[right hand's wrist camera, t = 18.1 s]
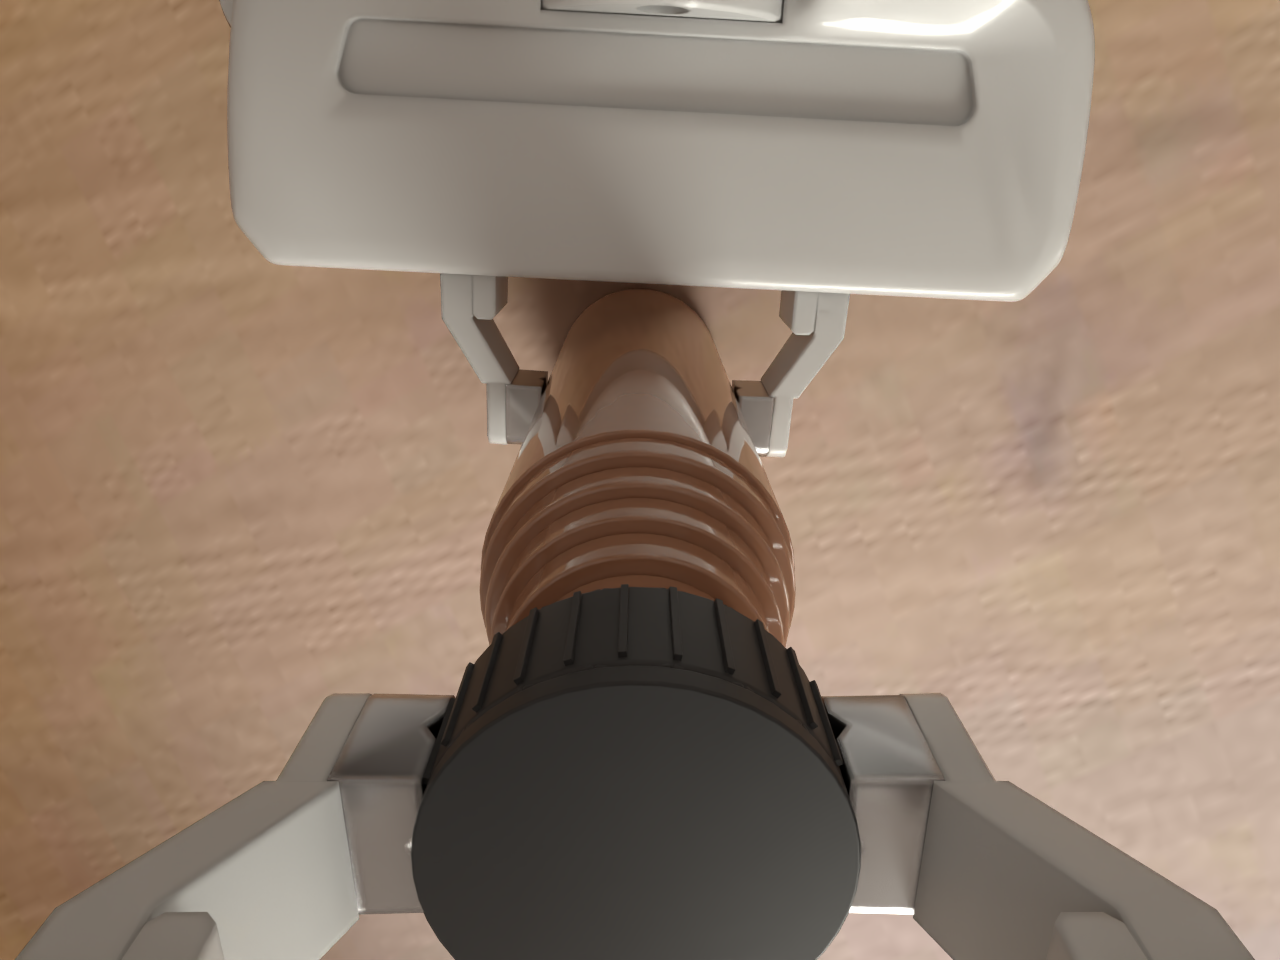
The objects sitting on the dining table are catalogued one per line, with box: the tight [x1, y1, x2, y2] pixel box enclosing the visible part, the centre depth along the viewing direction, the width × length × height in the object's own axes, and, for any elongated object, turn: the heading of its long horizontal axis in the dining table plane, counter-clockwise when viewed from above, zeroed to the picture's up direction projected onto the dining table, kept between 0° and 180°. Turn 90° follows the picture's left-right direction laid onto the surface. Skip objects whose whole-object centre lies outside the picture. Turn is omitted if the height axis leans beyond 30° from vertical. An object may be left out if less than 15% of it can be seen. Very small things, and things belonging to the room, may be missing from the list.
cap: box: [411, 584, 861, 960], centre depth 9 cm, size 5×5×2 cm
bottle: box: [480, 289, 796, 647], centre depth 19 cm, size 5×5×21 cm
